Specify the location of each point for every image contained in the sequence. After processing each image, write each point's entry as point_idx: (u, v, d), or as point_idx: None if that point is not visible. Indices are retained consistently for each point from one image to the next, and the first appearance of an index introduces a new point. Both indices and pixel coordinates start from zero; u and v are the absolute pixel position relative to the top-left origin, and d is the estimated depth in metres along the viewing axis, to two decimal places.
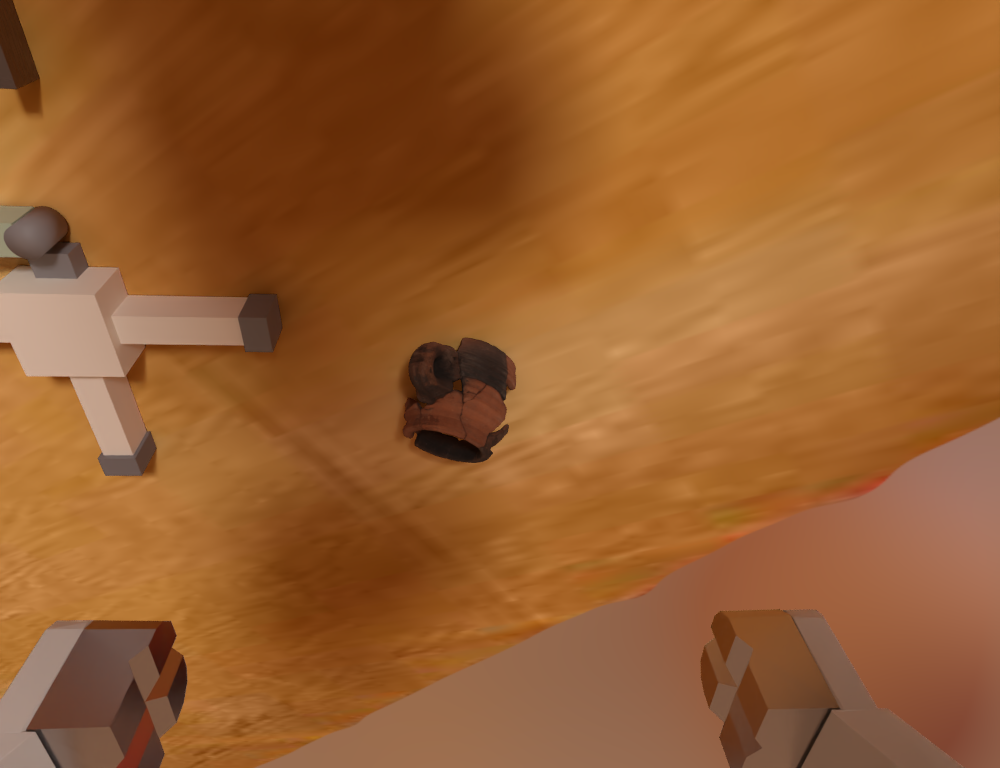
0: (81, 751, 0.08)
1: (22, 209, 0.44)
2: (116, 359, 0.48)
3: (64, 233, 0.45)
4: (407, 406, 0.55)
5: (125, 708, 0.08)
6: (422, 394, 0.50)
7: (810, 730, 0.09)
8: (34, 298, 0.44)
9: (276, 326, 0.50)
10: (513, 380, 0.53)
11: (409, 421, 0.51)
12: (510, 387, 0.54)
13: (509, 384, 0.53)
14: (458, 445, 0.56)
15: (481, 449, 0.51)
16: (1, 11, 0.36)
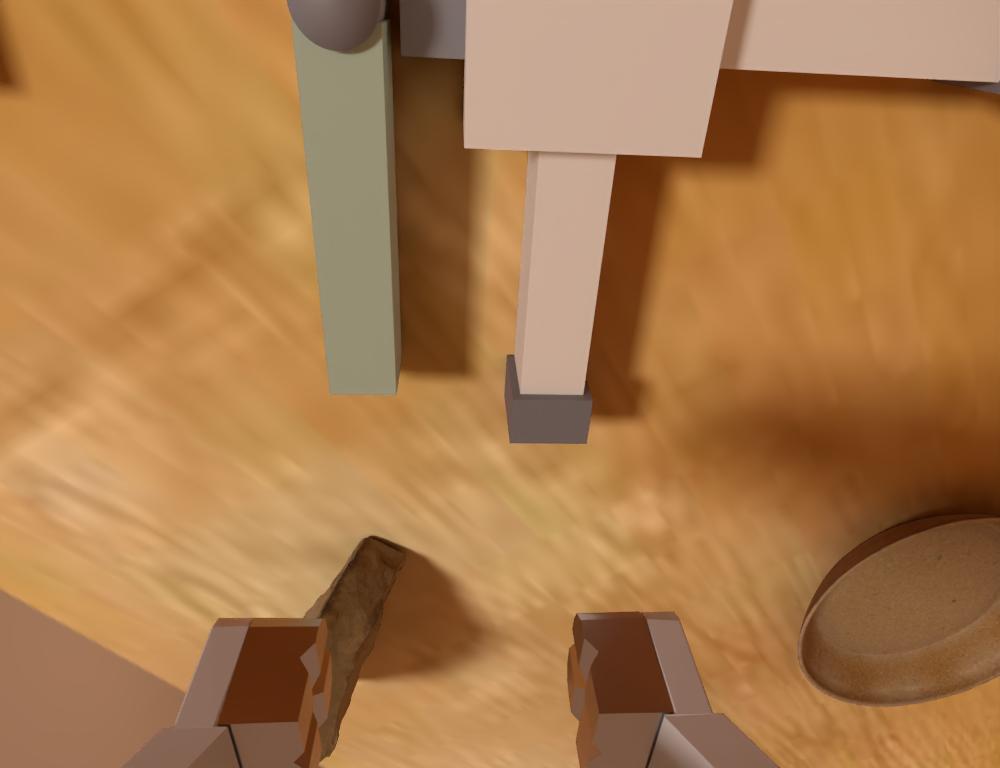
0: (264, 746, 0.08)
1: None
2: None
3: None
4: None
5: (304, 704, 0.08)
6: None
7: (648, 734, 0.08)
8: (478, 32, 0.17)
9: None
10: None
11: None
12: None
13: None
14: None
15: None
16: None
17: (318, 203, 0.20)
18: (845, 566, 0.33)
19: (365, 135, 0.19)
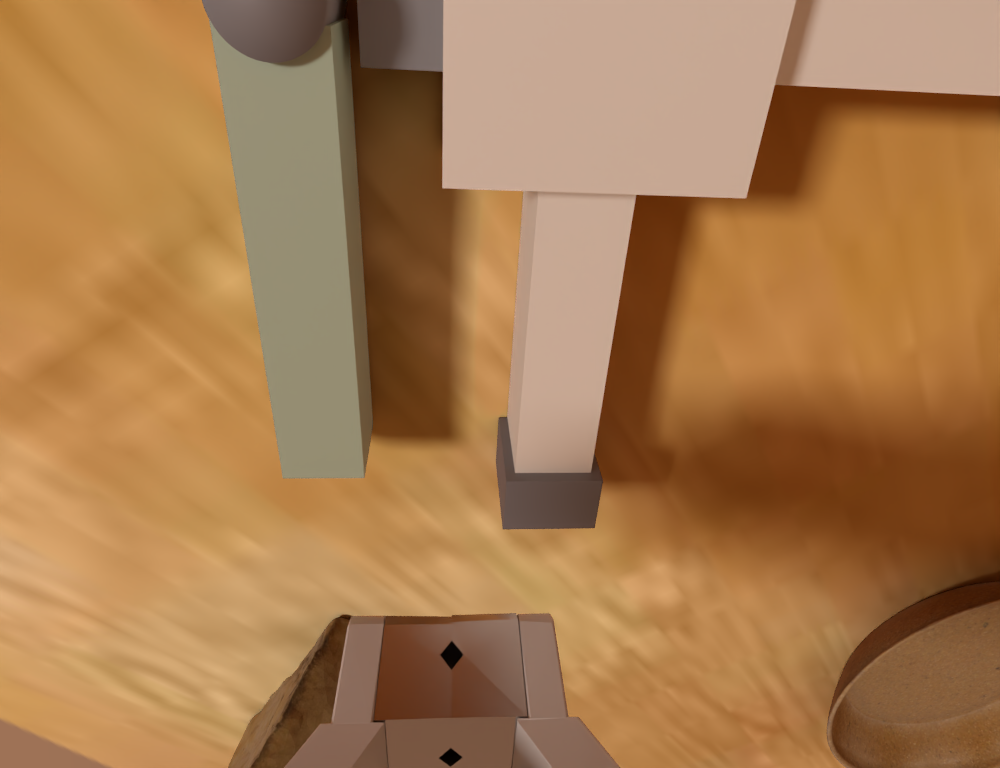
0: (414, 741, 0.08)
1: None
2: None
3: None
4: None
5: (451, 700, 0.08)
6: None
7: (504, 739, 0.08)
8: (459, 38, 0.13)
9: None
10: None
11: None
12: None
13: None
14: None
15: None
16: None
17: (257, 255, 0.16)
18: (884, 642, 0.29)
19: (314, 170, 0.15)
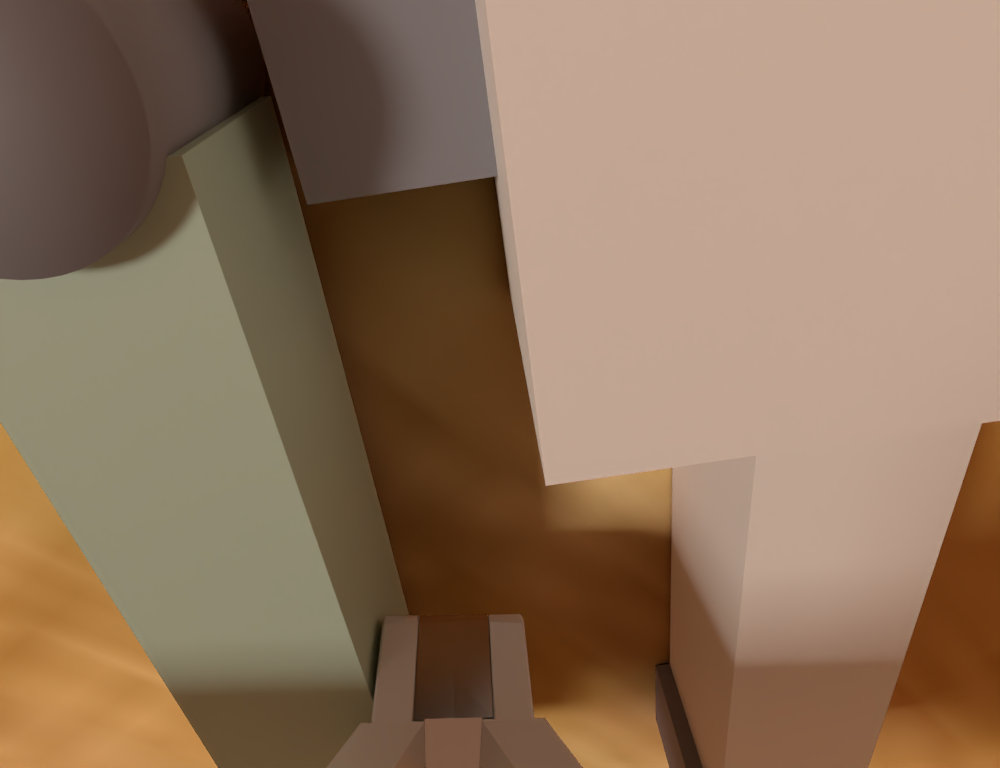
0: (452, 740, 0.08)
1: None
2: None
3: None
4: None
5: (489, 699, 0.08)
6: None
7: (472, 739, 0.08)
8: (552, 122, 0.04)
9: None
10: None
11: None
12: None
13: None
14: None
15: None
16: None
17: (151, 625, 0.07)
18: None
19: (228, 469, 0.06)
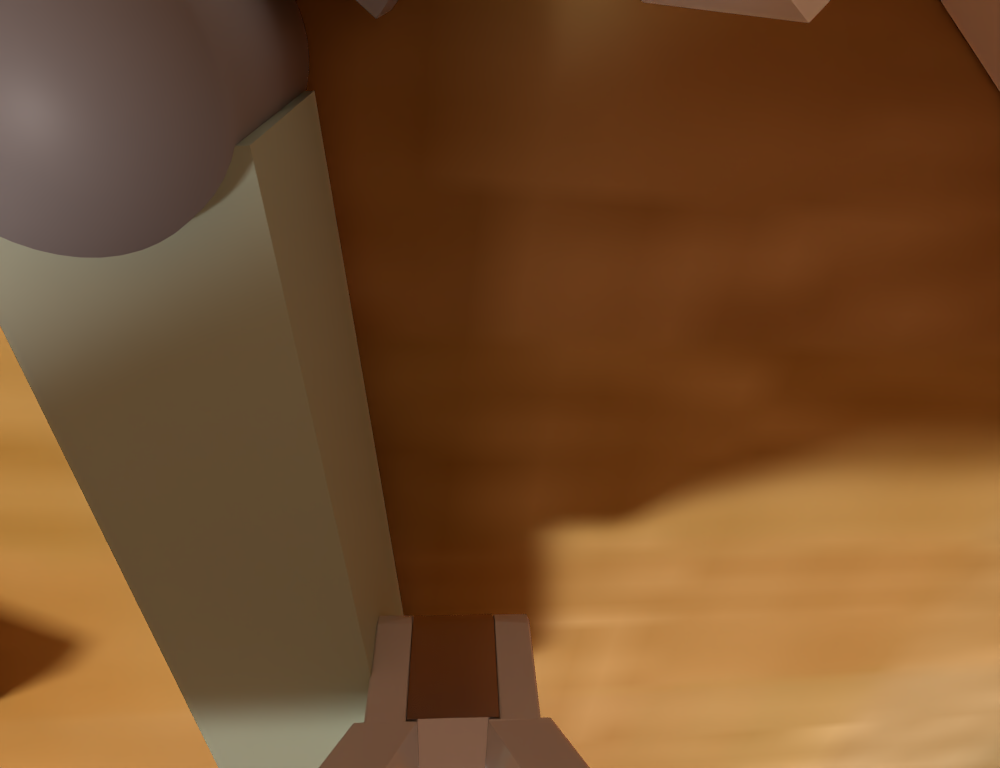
0: (445, 740, 0.08)
1: None
2: None
3: None
4: None
5: (482, 699, 0.08)
6: None
7: (478, 739, 0.08)
8: None
9: None
10: None
11: None
12: None
13: None
14: None
15: None
16: None
17: (162, 608, 0.07)
18: None
19: (258, 456, 0.06)
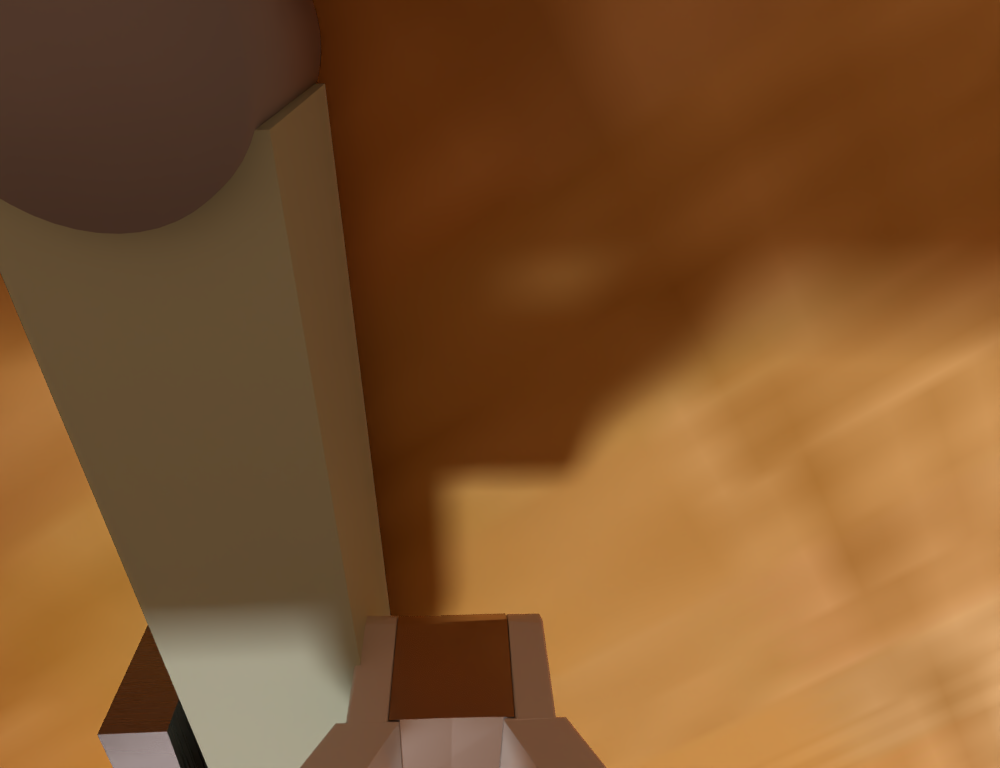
0: (428, 741, 0.08)
1: None
2: None
3: None
4: None
5: (464, 699, 0.08)
6: None
7: (492, 739, 0.08)
8: None
9: None
10: None
11: None
12: None
13: None
14: None
15: None
16: None
17: (155, 589, 0.07)
18: None
19: (260, 438, 0.07)
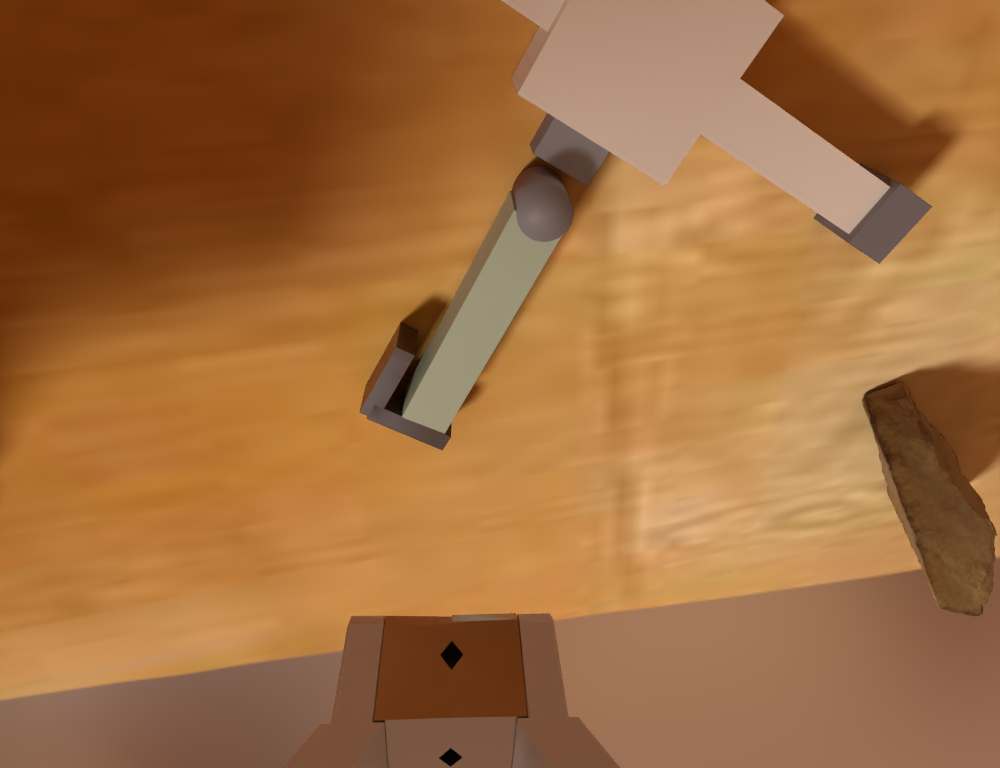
0: (414, 741, 0.08)
1: (505, 203, 0.30)
2: None
3: (561, 180, 0.29)
4: None
5: (451, 699, 0.08)
6: None
7: (505, 738, 0.08)
8: (610, 141, 0.25)
9: None
10: None
11: None
12: None
13: None
14: None
15: None
16: (367, 390, 0.34)
17: (467, 307, 0.30)
18: None
19: (518, 284, 0.29)
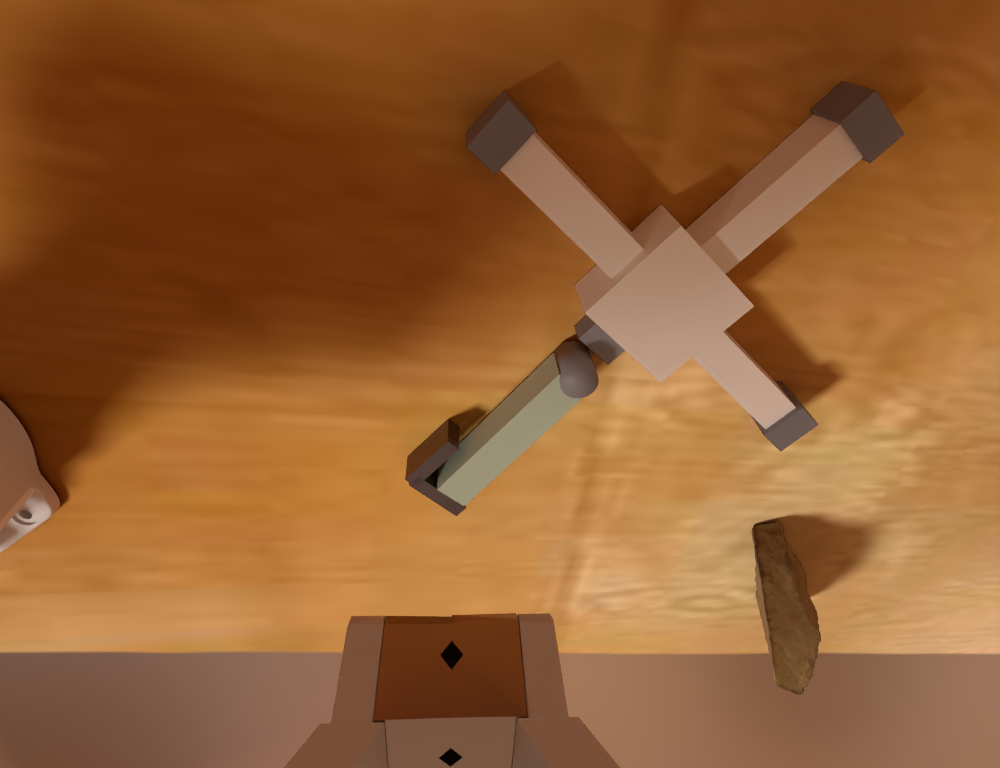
0: (414, 741, 0.08)
1: (548, 361, 0.42)
2: (659, 248, 0.35)
3: (589, 354, 0.42)
4: None
5: (451, 699, 0.08)
6: None
7: (505, 738, 0.08)
8: (633, 350, 0.39)
9: (491, 109, 0.34)
10: None
11: None
12: None
13: None
14: None
15: None
16: (412, 463, 0.46)
17: (508, 427, 0.42)
18: None
19: (547, 419, 0.42)
